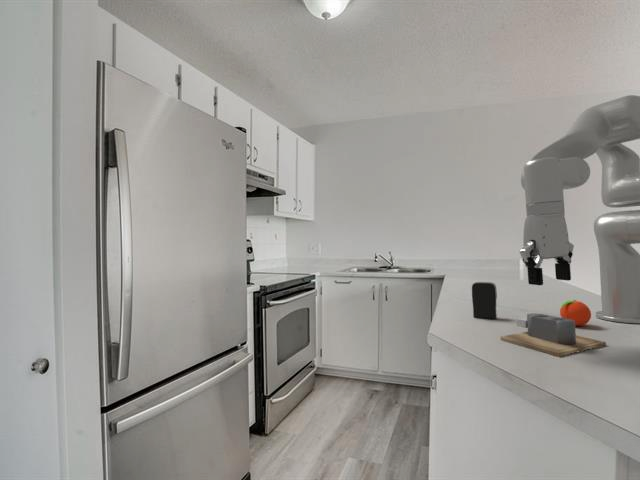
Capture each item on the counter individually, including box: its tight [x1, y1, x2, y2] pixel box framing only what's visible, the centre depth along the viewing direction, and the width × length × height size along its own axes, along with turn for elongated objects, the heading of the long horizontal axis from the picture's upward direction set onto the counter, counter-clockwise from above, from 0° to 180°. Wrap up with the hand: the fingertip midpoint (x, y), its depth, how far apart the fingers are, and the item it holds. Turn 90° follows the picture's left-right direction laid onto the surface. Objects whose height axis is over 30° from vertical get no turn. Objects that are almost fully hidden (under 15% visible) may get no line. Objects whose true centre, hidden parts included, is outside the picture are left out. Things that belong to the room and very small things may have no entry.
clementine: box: [559, 299, 592, 327], centre depth 92 cm, size 8×7×7 cm
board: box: [500, 331, 607, 357], centre depth 79 cm, size 16×14×1 cm
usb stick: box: [516, 312, 577, 345], centre depth 80 cm, size 13×4×5 cm, turn 21°
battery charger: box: [471, 281, 498, 320], centre depth 106 cm, size 7×4×11 cm, turn 53°
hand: (549, 282), depth 79 cm, fingers open, 9 cm apart
